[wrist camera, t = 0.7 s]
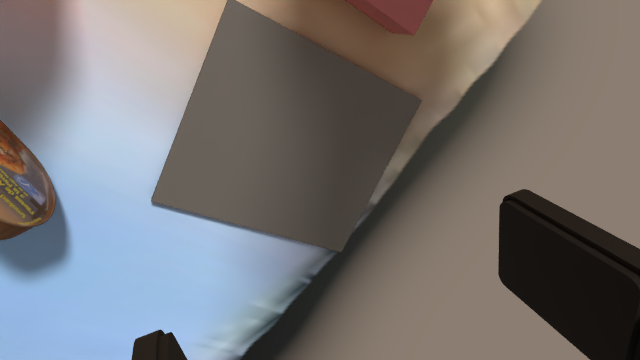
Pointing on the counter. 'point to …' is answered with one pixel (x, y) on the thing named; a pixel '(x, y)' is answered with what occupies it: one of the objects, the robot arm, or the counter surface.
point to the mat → (282, 134)
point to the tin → (22, 187)
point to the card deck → (395, 13)
